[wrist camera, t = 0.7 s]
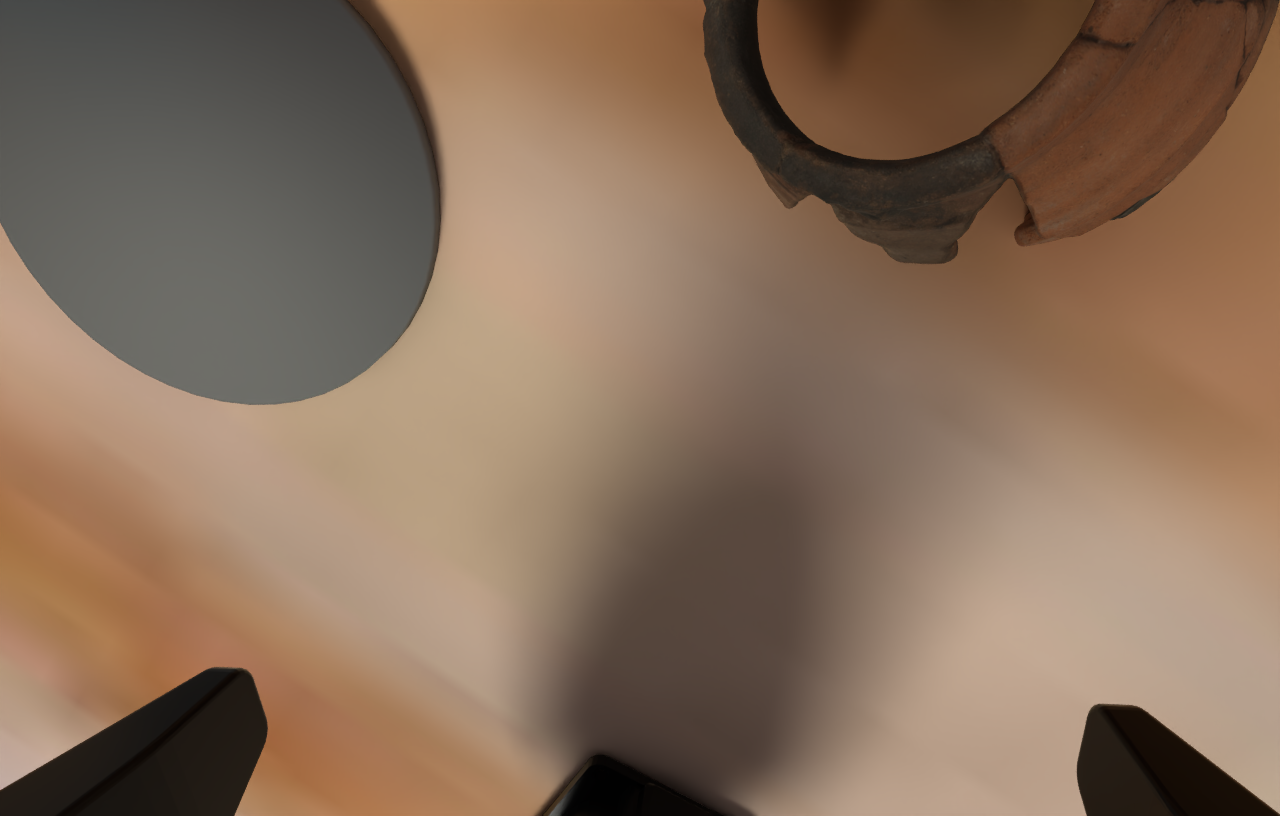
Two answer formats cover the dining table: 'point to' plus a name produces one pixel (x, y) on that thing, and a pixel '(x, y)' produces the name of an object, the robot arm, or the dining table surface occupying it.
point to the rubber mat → (218, 186)
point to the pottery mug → (1017, 127)
